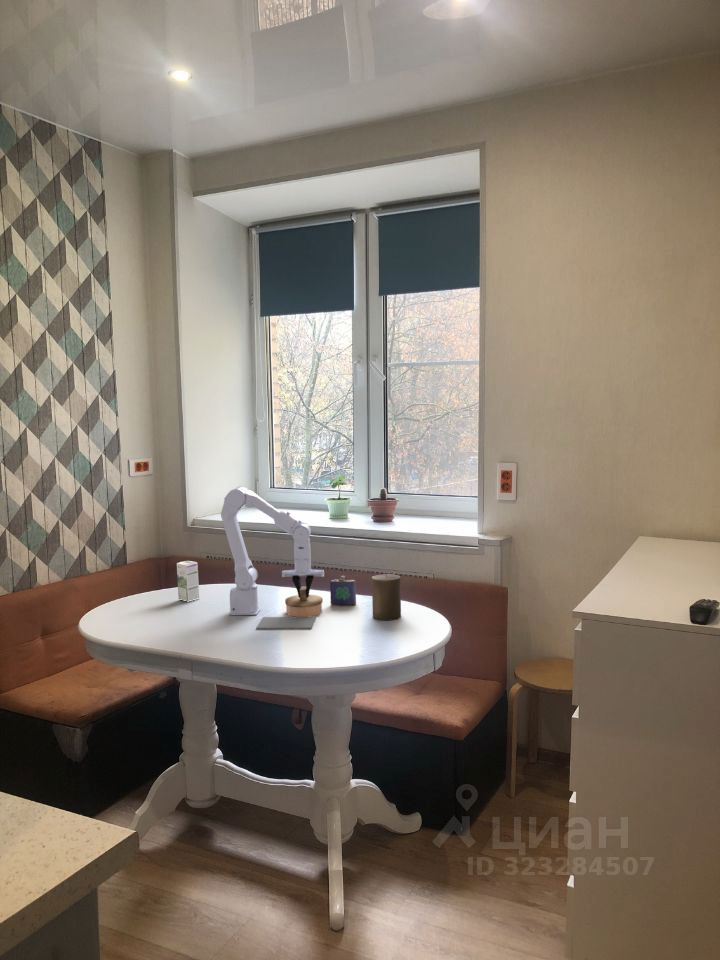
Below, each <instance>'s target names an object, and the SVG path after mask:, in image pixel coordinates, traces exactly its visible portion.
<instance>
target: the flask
mask: <svg viewBox="0 0 720 960" xmlns="http://www.w3.org/2000/svg"><path fill="white" fill-rule="evenodd" d="M345 577H346V576H345V575H340V578H337V579H336V578H335V579H331V580H330V582H329V584H330V585H329V586H330V606H334V607H337V606H338V607H343V606H348V607H349V606H351V607H352V606H356V604H357V593H356V591H357V590H356V589H357V588H356V584H357V583H356V580H355V579H347V580H346V579H345Z"/></svg>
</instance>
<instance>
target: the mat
mask: <svg viewBox="0 0 720 960" xmlns="http://www.w3.org/2000/svg"><path fill="white" fill-rule="evenodd" d="M316 619H317V616H309V617H295V616H263V617H262V618H261V619H260V621H259V623H258V624H257V626H256V628H255V630H256V629H263V630H312V629H313V627H314V624H315V622H316Z"/></svg>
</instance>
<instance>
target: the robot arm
mask: <svg viewBox="0 0 720 960" xmlns="http://www.w3.org/2000/svg"><path fill="white" fill-rule="evenodd" d="M243 506H244V507H245V508H255V509H257V510H258V511H260V512H262V513H263V514H265V515H266V516H268V517H270V518H272V519H273V521H274V525H275V526H277V527H278V528H280V529H281V530H283V531H284V532H286V533H287V534H288V535H291V536H292V539H293V541H294V545H293V555H294V556H293V557H294V561H293V562H294V569H287V570H285V569H284V570H282V571H281V577H282V578H286V577H287V578H288V577H289V578H290V577H292V579H291V580H292V583H293V584H294V586H295V589H296V592H297V595H298V596H299V598H300V589H301V587H302V577H305V586H306V598H308V597H309V595H310V590H311V586H312V583H313V581H314V578H315V577H322V578H323V577H325V570H324V569H312V555H311V554H312V552H311V550H312V549H311V538H310V536H311V534H312V533H311V532H312V529H311V527H310V525H309V524H308V523H307V522H303V520H301V519H297V518H296V517H294V516H293V515H292V513H291V512H290V511H289V510H288V511H286V510H281V511H280V510H278V509H277V508H275V506H273V505H272V504H270V503H269V502H267V501H266V500H264V499H263V498H262V497H261V496H259V494H257V493H255V491H252V490H250V489H249V488H247V487H246V486H241V485H240V486H237V487H236V488H233V489H231V490H230V491H229V492H228V493H227V494H226V495H225V497H224V499H223V504H222V509H221V511H220V517H221V520H222V521H221V522H222V523H223V527H224V531H225V534H226V535H225V536H226V538H227V541H228V545H229V548H230V551H231V554H232V558H233V561H234V574H235V577H234V584H235V585H236V587H231V588H230V591H229V612H230V613H229V615H230V616H257V615H258V614H259V612H260V611H261V609H262V607H259V602H258V599H259V598H258V596H259V595H258V584H257V583H256V581H257V579H258V577H259V573H258V570H257V569H256V568H255V567H254V566H253V563H252V561H251V559H250V558H249V554H248V551H247V547H246V544H245V541H244V537H243V535H242V531H241V527H240V524H239V520H238V518H237V516H238V514H239V512H240V511H241V509H242V508H243Z"/></svg>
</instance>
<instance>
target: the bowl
mask: <svg viewBox="0 0 720 960" xmlns="http://www.w3.org/2000/svg"><path fill="white" fill-rule="evenodd" d="M322 603H323V602H322ZM322 603H321V604H319V605H316V606H311V607H292V606H288V605H286V604H285V606H286V607H285V608H286V611H285V612H286V614H287V615H288V614H289V615H288V616H290V615H291V616H290V617H295V616H297V617H316V616H317V615H321V613H322V610H323V609H322V607H323V606H322Z"/></svg>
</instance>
